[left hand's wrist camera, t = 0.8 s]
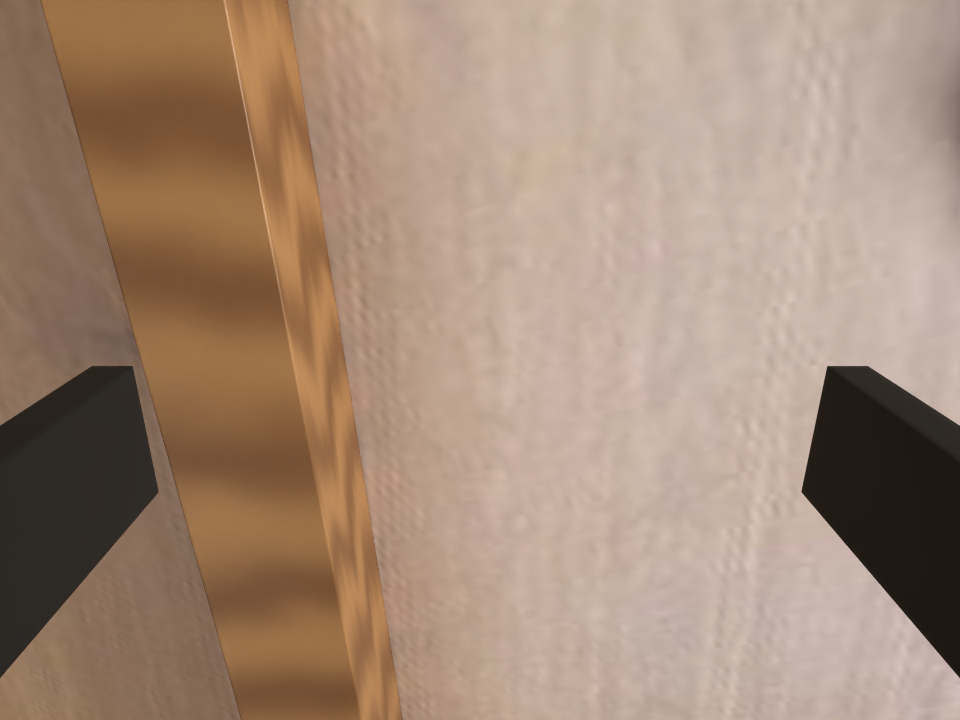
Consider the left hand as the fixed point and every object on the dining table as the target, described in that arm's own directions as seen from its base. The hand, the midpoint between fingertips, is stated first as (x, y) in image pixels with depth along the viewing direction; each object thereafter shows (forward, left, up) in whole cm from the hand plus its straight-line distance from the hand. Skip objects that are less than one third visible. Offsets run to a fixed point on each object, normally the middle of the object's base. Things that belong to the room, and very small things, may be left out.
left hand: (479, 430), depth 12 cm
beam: (+21, -6, -20) cm, 30 cm away
